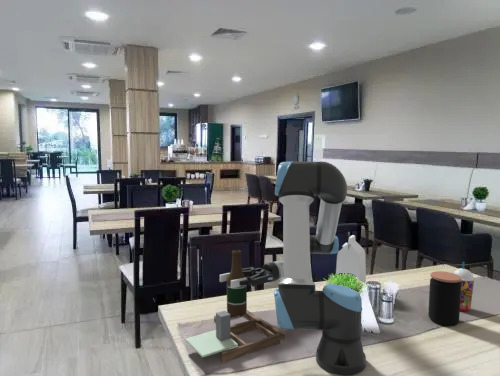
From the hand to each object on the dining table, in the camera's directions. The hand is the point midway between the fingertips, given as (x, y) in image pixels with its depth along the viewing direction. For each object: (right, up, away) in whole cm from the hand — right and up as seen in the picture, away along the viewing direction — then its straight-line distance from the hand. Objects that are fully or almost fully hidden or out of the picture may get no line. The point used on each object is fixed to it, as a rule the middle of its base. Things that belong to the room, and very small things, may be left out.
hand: (225, 281), depth 141 cm
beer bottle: (+4, -13, +4) cm, 14 cm away
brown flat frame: (+4, -18, -5) cm, 19 cm away
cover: (-4, -16, -18) cm, 24 cm away
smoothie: (+97, -16, +18) cm, 100 cm away
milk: (+57, -14, +38) cm, 70 cm away
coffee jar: (+84, -17, +6) cm, 86 cm away
